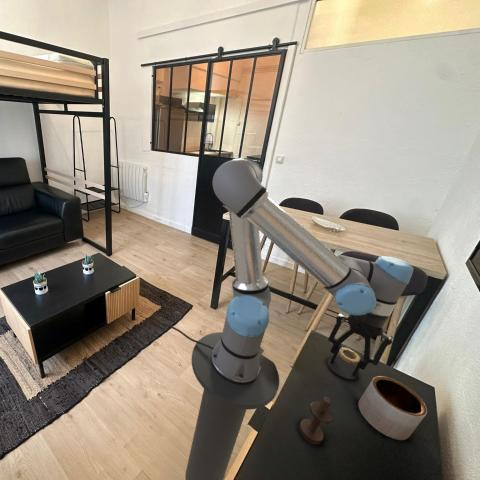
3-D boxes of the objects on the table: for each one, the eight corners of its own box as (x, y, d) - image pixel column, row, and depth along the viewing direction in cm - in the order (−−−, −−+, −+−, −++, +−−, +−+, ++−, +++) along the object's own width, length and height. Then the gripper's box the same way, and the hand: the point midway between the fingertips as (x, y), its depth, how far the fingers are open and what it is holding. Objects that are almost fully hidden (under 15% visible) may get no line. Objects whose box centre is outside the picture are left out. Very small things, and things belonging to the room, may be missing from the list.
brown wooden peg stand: (296, 432, 62) (312, 398, 57) (303, 418, 66) (318, 385, 61) (318, 449, 59) (337, 416, 54) (324, 434, 62) (342, 401, 57)
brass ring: (336, 355, 79) (337, 353, 78) (340, 347, 82) (341, 344, 82) (356, 367, 75) (358, 364, 75) (360, 357, 79) (361, 355, 78)
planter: (414, 451, 60) (434, 427, 57) (359, 424, 65) (375, 400, 61) (403, 413, 69) (420, 389, 65) (355, 391, 74) (369, 368, 70)
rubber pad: (324, 367, 81) (324, 366, 81) (331, 354, 86) (331, 353, 86) (353, 385, 76) (354, 383, 76) (359, 370, 81) (359, 368, 81)
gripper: (332, 298, 75) (308, 355, 84) (415, 333, 63) (376, 395, 72) (339, 289, 80) (315, 344, 89) (417, 320, 68) (380, 380, 77)
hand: (343, 367), depth 81 cm, fingers closed on brass ring, 5 cm apart
